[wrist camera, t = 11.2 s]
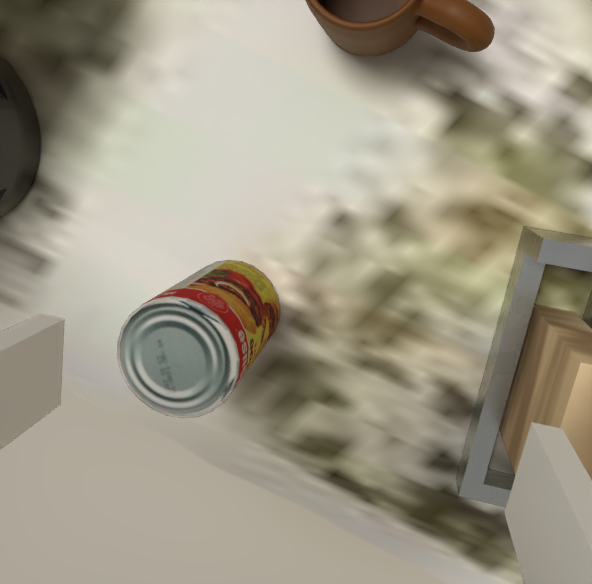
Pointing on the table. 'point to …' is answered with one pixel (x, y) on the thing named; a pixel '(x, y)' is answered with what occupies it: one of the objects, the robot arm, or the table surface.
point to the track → (513, 355)
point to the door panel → (552, 383)
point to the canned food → (198, 338)
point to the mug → (401, 23)
